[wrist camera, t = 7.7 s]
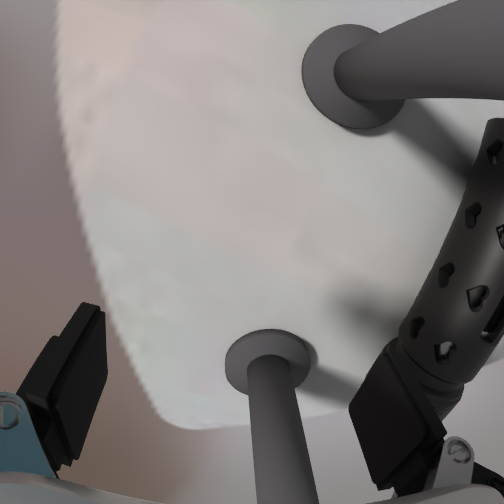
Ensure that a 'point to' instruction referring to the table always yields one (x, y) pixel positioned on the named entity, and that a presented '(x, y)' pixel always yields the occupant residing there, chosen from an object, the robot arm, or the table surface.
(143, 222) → the table surface
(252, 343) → the cord post
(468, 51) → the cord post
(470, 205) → the muzzle brake
